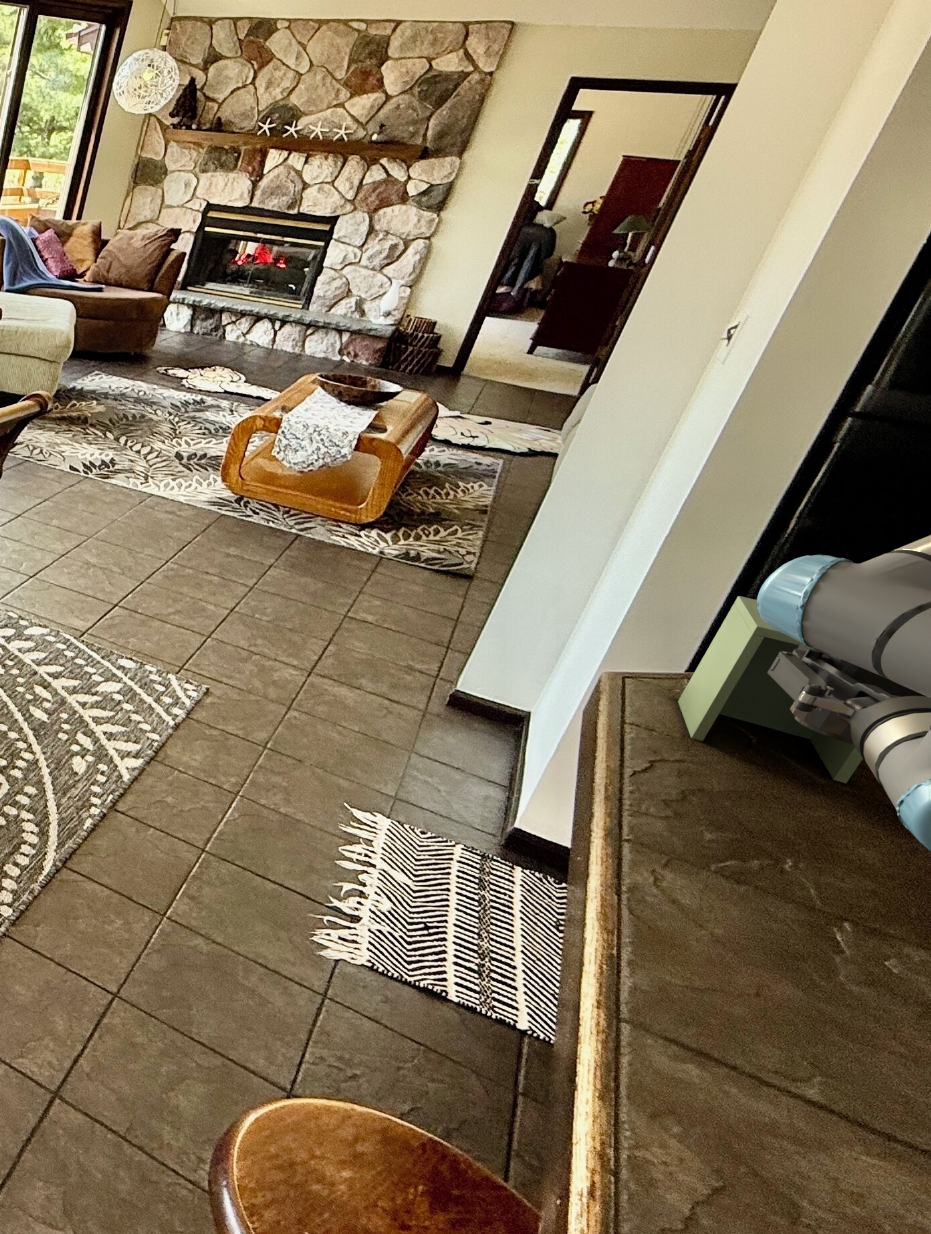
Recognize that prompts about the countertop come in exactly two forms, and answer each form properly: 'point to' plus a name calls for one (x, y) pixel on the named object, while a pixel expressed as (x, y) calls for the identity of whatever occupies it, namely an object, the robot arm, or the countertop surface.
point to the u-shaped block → (753, 687)
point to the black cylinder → (829, 720)
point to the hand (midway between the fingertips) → (859, 662)
